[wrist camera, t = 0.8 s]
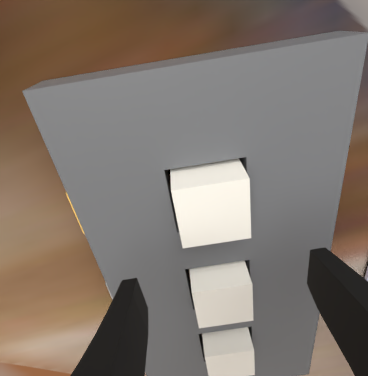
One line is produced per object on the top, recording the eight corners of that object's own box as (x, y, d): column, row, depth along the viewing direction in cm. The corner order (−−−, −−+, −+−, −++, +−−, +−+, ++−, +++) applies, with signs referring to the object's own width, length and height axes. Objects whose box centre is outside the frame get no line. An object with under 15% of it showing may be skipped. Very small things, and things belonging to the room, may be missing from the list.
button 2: (246, 321, 24) (254, 350, 22) (247, 346, 27) (254, 374, 24) (201, 327, 25) (204, 357, 22) (205, 352, 27) (209, 381, 24)
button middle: (243, 256, 20) (252, 283, 18) (244, 291, 22) (253, 320, 20) (188, 264, 20) (191, 293, 18) (195, 299, 22) (198, 328, 20)
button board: (339, 30, 15) (369, 32, 12) (298, 349, 31) (308, 374, 29) (37, 81, 15) (16, 92, 13) (153, 370, 31) (152, 395, 29)
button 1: (238, 157, 16) (249, 178, 14) (241, 212, 18) (251, 237, 16) (170, 168, 16) (170, 190, 14) (180, 221, 18) (182, 248, 16)
